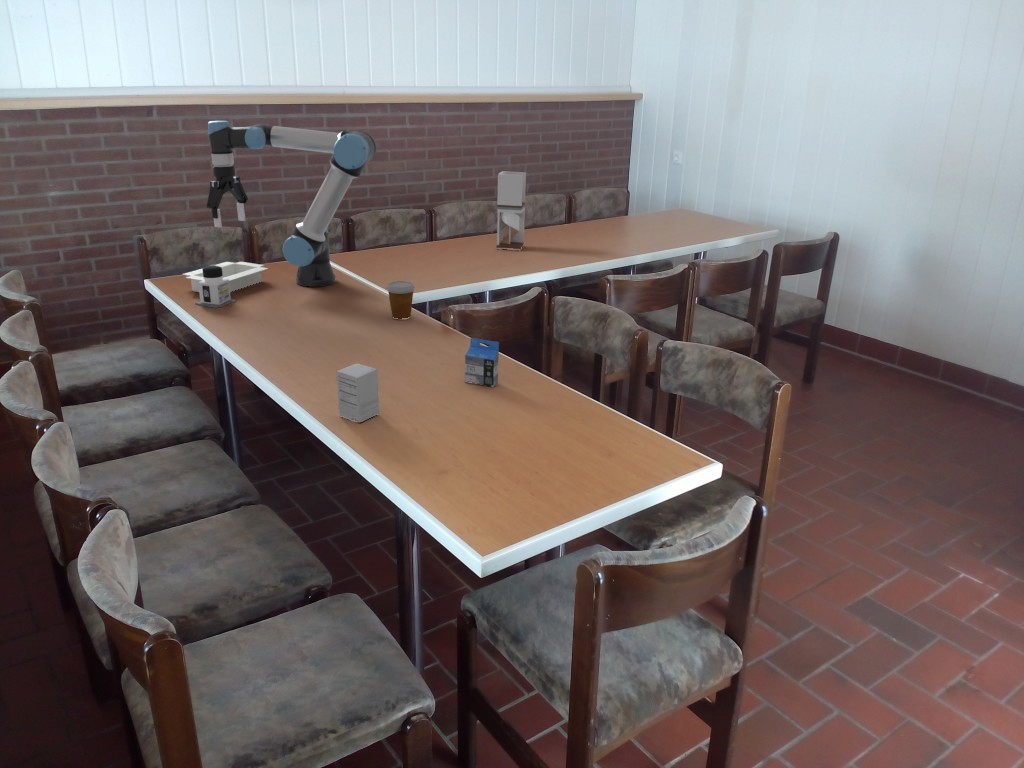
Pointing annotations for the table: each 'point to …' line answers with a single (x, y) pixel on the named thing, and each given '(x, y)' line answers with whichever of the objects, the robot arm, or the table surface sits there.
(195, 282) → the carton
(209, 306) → the mat
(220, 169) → the robot arm
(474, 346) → the label tape cartridge
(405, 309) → the disposable coffee cup
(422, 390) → the table surface
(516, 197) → the white hollow stand
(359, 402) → the grey drawer cabinet
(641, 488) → the table surface
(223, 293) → the container
